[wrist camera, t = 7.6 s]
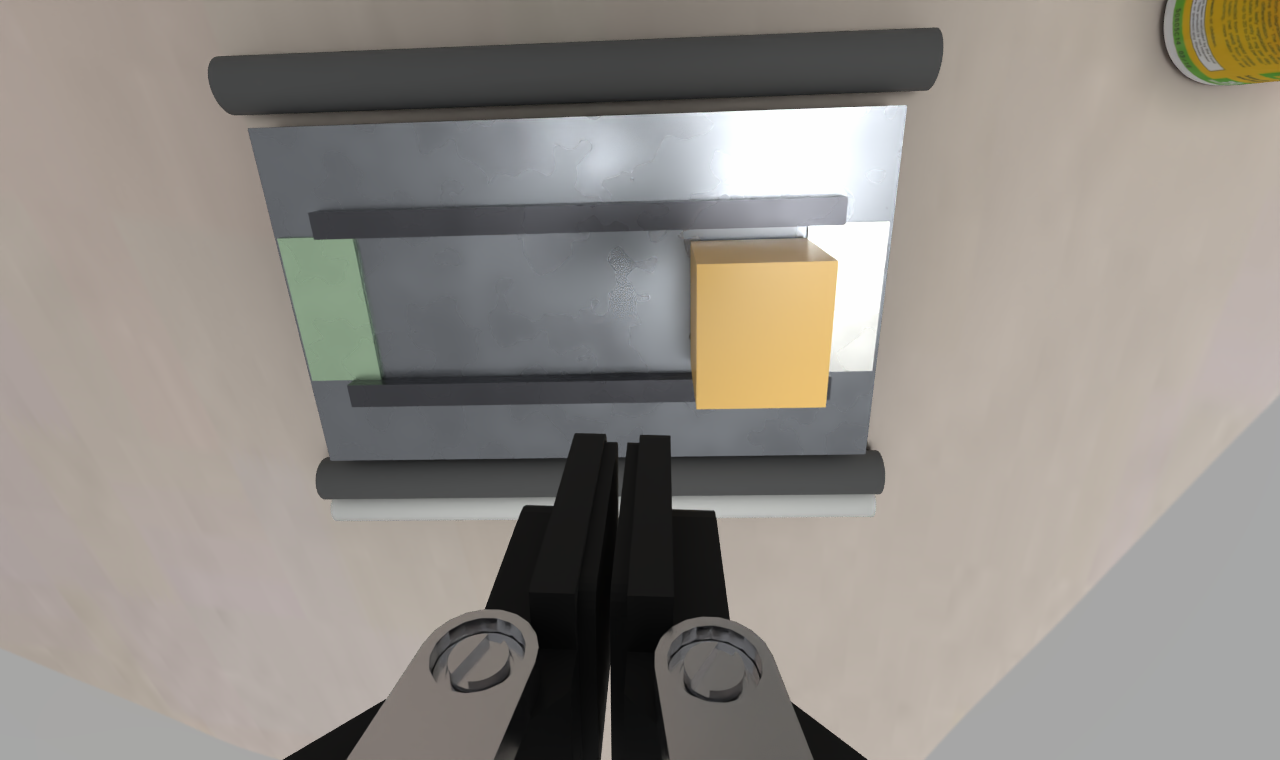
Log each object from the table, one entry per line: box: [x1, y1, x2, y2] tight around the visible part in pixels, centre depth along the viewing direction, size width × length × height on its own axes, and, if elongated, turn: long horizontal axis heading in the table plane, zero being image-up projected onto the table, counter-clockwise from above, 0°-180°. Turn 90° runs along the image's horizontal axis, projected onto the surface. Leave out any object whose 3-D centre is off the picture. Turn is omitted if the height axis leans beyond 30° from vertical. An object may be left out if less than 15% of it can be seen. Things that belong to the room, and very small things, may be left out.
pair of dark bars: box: [208, 28, 943, 521], centre depth 26 cm, size 26×20×2 cm
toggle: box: [690, 238, 839, 409], centre depth 22 cm, size 4×5×4 cm
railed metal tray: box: [248, 105, 907, 461], centre depth 25 cm, size 24×14×3 cm, turn 92°
